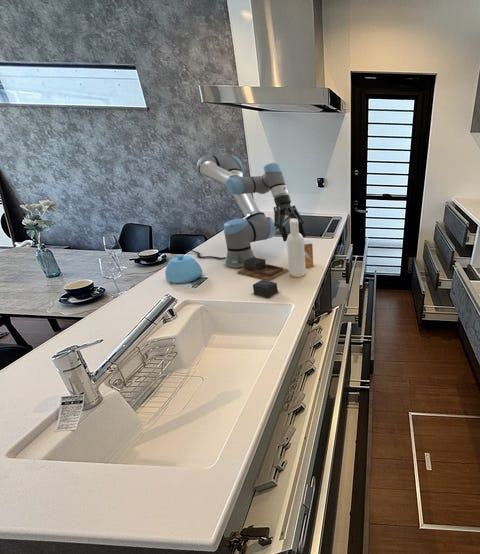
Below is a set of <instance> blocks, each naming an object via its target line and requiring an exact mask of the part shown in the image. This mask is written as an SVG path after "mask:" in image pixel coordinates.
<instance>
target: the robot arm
mask: <svg viewBox="0 0 480 554" xmlns="http://www.w3.org/2000/svg"><path fill="white" fill-rule="evenodd" d="M195 168H196V171H197V173H198V174H199V176H201V177H202V178H204V179H205V180H208V181H211V180H212V181H214V182H216V183H218V184H220V185H222V186H224V187H226V190H227V191H228V193H229V194H230V195H233V197H234V199H235V202H236V203H237V204H238V206H239V209H240V210H241V212H242V215H243V216H244V217H245V218H234V219H233V218H232V219H230V220H228V221H226V222H224V224H223V234H224V238H225V244H226V250H227V252H226V257H225V256H224V257H219V256H212V255H206V256H203V255H201V253H200V252H199V251H197V250H193V249H187V250H186V251H185V252H184V253H187V254H188V253H189V252H193V253H196V254H197V255H196V256H197V258H200V259H208V258H210V259H218V260H225V266H226V267H227V268H230V269H244V262H243V261H245V260H248V259H250V258H253V257H255V258H256V256H255V254H254V252H253V250H252V246H251V243H255V242H259V241H266V240H268V239H271V238H273V237H274V236H275V234H276V229H278V230H279V233H280V235H281V237H282V240H283V242H287V237H288V235H289V234H288V231H287V229H286V226H284V223H285V219H286V216H287V217H290V219H293V218H295V219H297V220H298V223H299V224H298V228H299V233H300V234H301V235H302V236H303V238H306V237H307V235H306V232H305V228H304V226H303V224H305V220H304V219H303V217H302V215H301V213H300V212H299V211H298V208H297V206H296V204H294V205H291V203H292V200H291V196H290V195H289V191H288V188H287V184H286V181H285V177H284V175H283V172H282V169H281V167H280V164H279V163H276V162H270V163H269V162H268V163H266V164H265V165H264V166H263V172H264V173H263V174H262V175H257V176H244V172H245V171H244V167H243V163H242V160H240V158H239V157H237V156H236V155H230V154H225V155H214V154H213V155H211V154H208V155H203V156H202V157H200V158H199V159H198V160H197V162H196V167H195ZM269 192H271V195H272V198H274V199H273V201H274V204H275V206H273V213H274V215H273V216H274V218H272V217H270V216H266V214H265V213H264V212H263V211H261V210H260V209H259V207H258V205H257V202H256V201H255V199H254V198H253V196H252V194H255V193H257V194H259V195H265V194H267V193H269Z"/></svg>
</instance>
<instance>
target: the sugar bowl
mask: <svg viewBox="0 0 480 554" xmlns="http://www.w3.org/2000/svg"><path fill="white" fill-rule="evenodd" d="M202 274H203V269H202V267H201V265H200V263H199V262H197V260H195V258H193V257H192V256H189V255H184V254H181V253H180V254H177V255H176V256H175V257H172V258H171V259H169V260H168V262H167V265H166V267H165V273H164V276H165V279H166V280H168V281H169V282H171V283H173V284H186V283H190V282H193V281H194V282H195V281H196V280H198V279H199V278H200V277H201V276H202Z"/></svg>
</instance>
